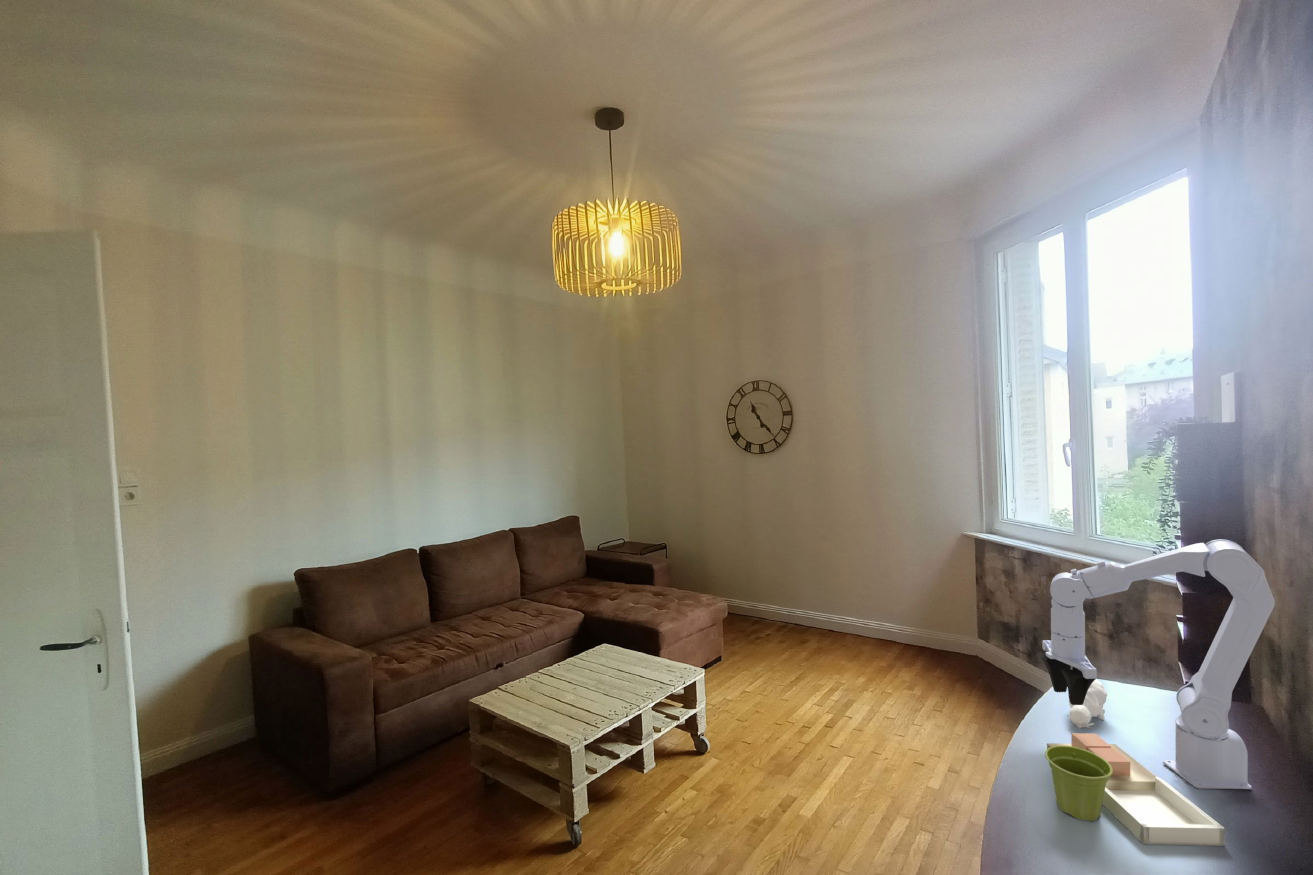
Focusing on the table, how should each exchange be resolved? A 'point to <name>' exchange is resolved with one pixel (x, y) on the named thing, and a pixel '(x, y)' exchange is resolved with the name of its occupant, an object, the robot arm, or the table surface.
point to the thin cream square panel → (1135, 781)
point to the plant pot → (1078, 780)
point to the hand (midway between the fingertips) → (1068, 697)
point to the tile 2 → (1113, 760)
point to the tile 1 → (1087, 741)
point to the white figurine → (1089, 706)
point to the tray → (1163, 816)
